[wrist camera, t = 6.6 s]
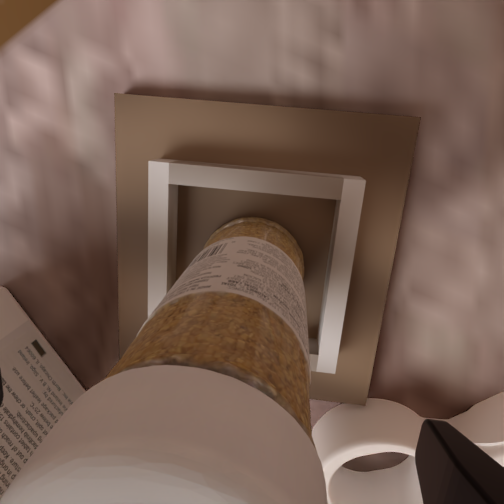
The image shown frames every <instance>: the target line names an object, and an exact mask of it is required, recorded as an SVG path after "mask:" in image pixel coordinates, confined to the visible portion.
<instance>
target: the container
mask: <svg viewBox="0 0 504 504" xmlns="http://www.w3.org/2000/svg"><path fill="white" fill-rule="evenodd" d="M0 368H1V376H2V384H3V393H4V397H3V402H2V404H1V406H0V500H1V498H2V496H3V495H4V493H5V492H6V490H7V489H8V487H9V486H10V484H11V483H12V481H13V480H14V478H15V477H16V476H17V474H18V473H19V472H20V470H21V469H22V467H23V466H24V465H25V463H26V462H27V461H28V459H29V458H30V457H31V455H32V454H33V453H34V451H35V450H36V449H37V447H38V446H39V445H40V443H41V442H42V441H43V439H44V438H45V437H46V436H47V434H48V433H49V432H50V430H51V429H52V428H53V427H54V425H55V424H56V423H57V422H58V421H59V419H60V418H61V417H62V416H63V414H64V413H65V412H66V411H67V409H68V408H69V407H70V406H71V405H72V404H73V403H74V402H75V401H76V400H77V399H78V398H79V397H80V396H81V395H82V394H83V393H85V392H86V391H85V389H84V388H83V387H82V386H81V384H80V383H79V382H78V380H77V379H76V378H75V376H74V375H73V374H72V373H71V371H70V370H69V369H68V367H67V366H66V365H65V363H64V362H63V361H62V360H61V358H60V357H59V356H58V354H57V353H56V352H55V350H54V349H53V348H52V347H51V345H50V344H49V343H48V341H47V340H46V339H45V337H44V336H43V335H42V334H41V332H40V331H39V330H38V328H37V327H36V326H35V324H34V323H33V322H32V321H31V319H30V318H29V317H28V315H27V314H26V313H25V311H24V310H23V309H22V308H21V306H20V305H19V304H18V302H17V301H16V300H15V298H14V297H13V296H12V295H11V293H10V292H9V291H8V290H7V289H6V288H5V287H2V286H1V287H0Z"/></svg>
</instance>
